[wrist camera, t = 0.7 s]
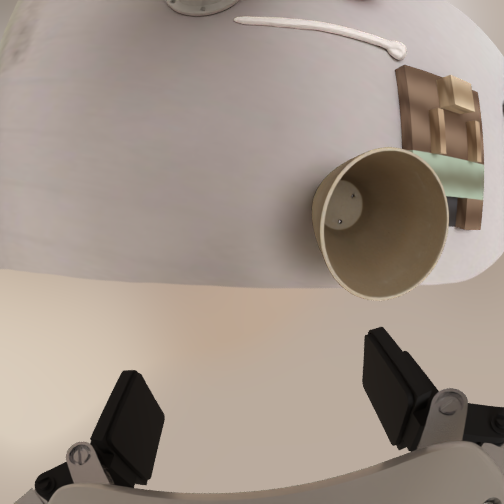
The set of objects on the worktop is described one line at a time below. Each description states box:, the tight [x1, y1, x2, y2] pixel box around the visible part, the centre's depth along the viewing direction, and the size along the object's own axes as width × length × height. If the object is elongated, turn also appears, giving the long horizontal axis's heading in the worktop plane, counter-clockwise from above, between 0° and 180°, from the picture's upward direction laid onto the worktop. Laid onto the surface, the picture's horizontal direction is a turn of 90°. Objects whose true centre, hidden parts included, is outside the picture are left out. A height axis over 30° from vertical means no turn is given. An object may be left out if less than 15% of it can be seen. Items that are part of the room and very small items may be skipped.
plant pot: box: [312, 147, 449, 301], centre depth 31 cm, size 15×15×16 cm
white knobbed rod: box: [234, 16, 407, 60], centre depth 30 cm, size 28×4×3 cm, turn 89°
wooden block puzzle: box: [395, 65, 484, 230], centre depth 34 cm, size 26×18×6 cm
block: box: [436, 75, 475, 114], centre depth 29 cm, size 5×5×4 cm
